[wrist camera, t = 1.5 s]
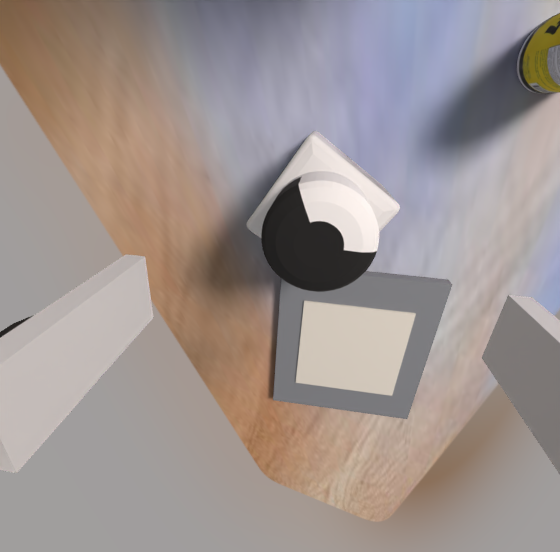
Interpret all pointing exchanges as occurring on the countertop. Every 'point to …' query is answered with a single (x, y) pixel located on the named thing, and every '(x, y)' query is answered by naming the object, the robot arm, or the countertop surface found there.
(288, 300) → the board
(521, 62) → the supplement bottle
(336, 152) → the container
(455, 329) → the countertop surface
